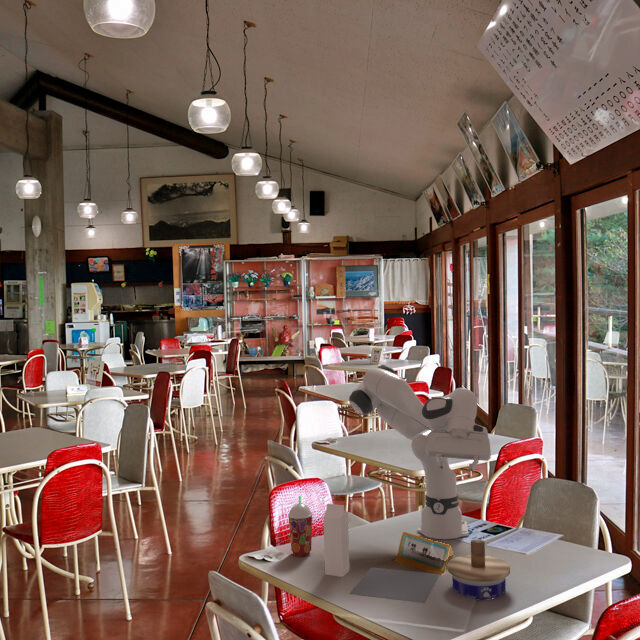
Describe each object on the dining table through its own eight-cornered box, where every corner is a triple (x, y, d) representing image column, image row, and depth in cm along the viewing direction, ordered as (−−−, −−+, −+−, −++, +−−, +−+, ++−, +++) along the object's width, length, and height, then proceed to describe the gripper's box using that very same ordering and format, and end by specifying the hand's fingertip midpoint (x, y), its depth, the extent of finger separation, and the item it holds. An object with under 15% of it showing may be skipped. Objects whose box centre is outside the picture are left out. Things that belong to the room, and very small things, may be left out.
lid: (453, 556, 217) (452, 530, 217) (513, 562, 211) (512, 534, 211) (442, 577, 201) (441, 549, 201) (506, 584, 194) (506, 554, 194)
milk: (332, 569, 225) (330, 501, 225) (350, 572, 223) (347, 502, 223) (324, 576, 220) (322, 506, 220) (342, 578, 217) (340, 507, 217)
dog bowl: (469, 604, 196) (468, 582, 196) (443, 584, 211) (442, 564, 211) (516, 596, 201) (515, 575, 201) (487, 577, 215) (487, 557, 215)
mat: (371, 569, 225) (371, 567, 225) (439, 576, 217) (439, 574, 217) (349, 595, 204) (349, 593, 204) (424, 604, 196) (424, 602, 196)
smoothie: (309, 548, 246) (307, 491, 246) (316, 556, 238) (315, 497, 238) (286, 551, 243) (284, 494, 243) (293, 559, 236) (291, 500, 235)
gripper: (427, 424, 230) (421, 460, 221) (491, 428, 223) (488, 466, 215) (429, 435, 234) (424, 471, 226) (492, 439, 228) (489, 476, 219)
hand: (456, 468), depth 220 cm, fingers open, 8 cm apart
